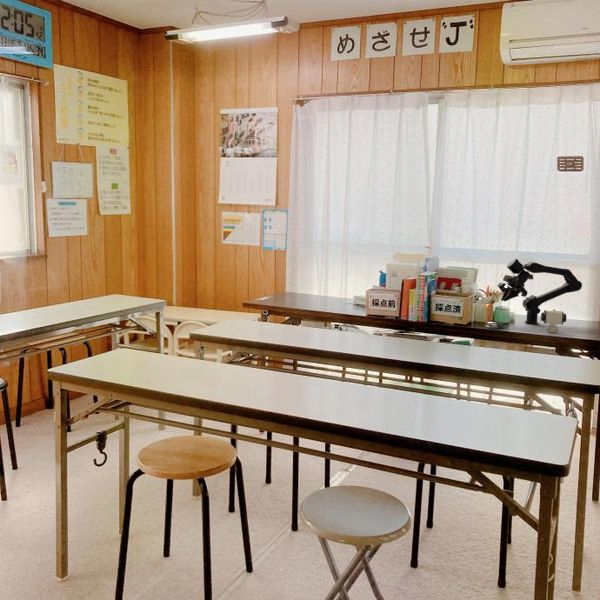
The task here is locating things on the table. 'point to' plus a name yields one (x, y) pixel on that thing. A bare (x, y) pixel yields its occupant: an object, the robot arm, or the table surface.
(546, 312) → the pneumatic valve
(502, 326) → the stop peg
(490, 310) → the crank
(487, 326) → the hub plate
